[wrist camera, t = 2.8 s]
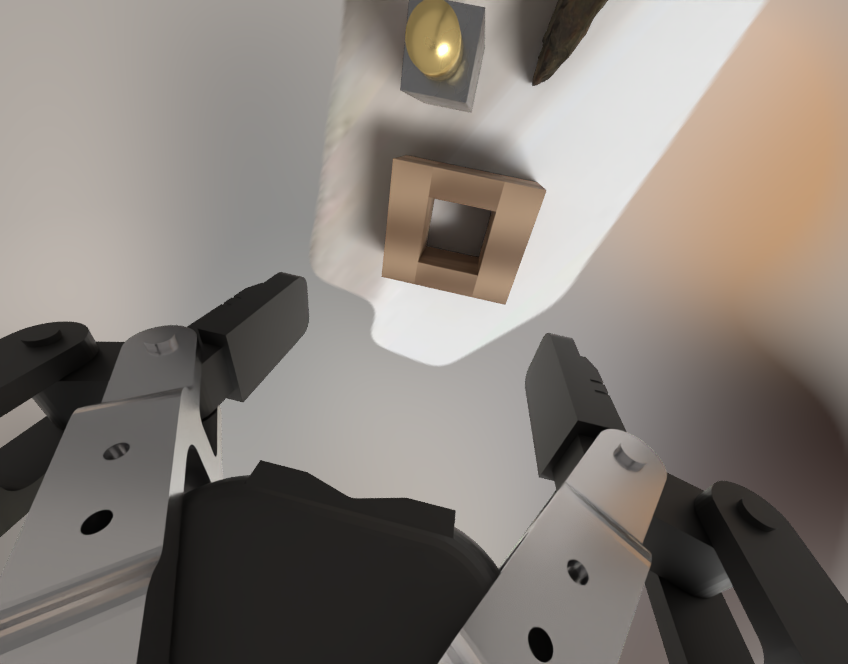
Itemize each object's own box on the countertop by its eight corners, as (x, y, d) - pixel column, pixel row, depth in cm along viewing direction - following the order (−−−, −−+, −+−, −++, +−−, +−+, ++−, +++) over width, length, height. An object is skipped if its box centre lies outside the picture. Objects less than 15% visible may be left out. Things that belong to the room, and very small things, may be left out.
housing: (406, 155, 28) (393, 158, 24) (536, 182, 27) (546, 190, 23) (394, 259, 33) (381, 276, 29) (502, 283, 33) (505, 304, 29)
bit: (433, 38, 23) (396, -33, 13) (484, 48, 23) (485, -17, 13) (424, 103, 26) (387, 82, 16) (471, 112, 25) (463, 97, 15)
